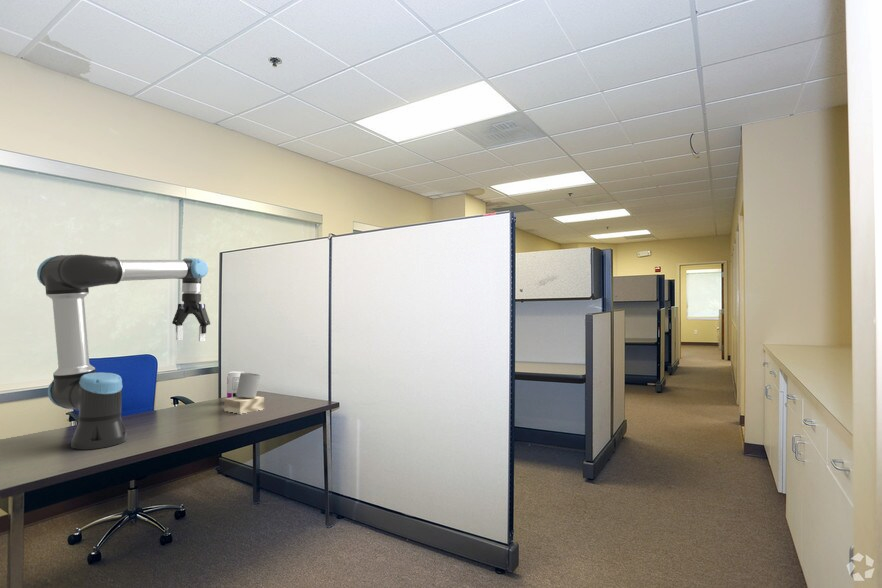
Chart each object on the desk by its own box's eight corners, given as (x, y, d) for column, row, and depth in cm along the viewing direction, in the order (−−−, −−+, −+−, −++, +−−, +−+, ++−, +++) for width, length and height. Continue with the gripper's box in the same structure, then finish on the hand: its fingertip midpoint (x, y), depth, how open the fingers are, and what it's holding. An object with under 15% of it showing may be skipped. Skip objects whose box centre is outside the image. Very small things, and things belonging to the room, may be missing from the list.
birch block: (239, 415, 197) (240, 401, 197) (224, 412, 204) (224, 398, 204) (264, 410, 207) (264, 397, 207) (248, 407, 214) (248, 394, 214)
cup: (242, 397, 200) (247, 374, 201) (232, 394, 205) (237, 372, 206) (259, 397, 207) (263, 375, 208) (248, 394, 212) (253, 373, 213)
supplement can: (223, 404, 217) (224, 373, 218) (232, 401, 226) (232, 370, 226) (240, 404, 217) (240, 373, 217) (248, 401, 225) (248, 371, 226)
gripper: (219, 293, 202) (218, 340, 201) (178, 293, 211) (177, 339, 210) (205, 292, 195) (204, 342, 194) (164, 292, 204) (162, 340, 203)
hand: (190, 340), depth 202 cm, fingers open, 13 cm apart
